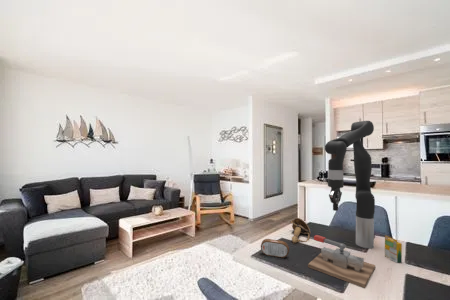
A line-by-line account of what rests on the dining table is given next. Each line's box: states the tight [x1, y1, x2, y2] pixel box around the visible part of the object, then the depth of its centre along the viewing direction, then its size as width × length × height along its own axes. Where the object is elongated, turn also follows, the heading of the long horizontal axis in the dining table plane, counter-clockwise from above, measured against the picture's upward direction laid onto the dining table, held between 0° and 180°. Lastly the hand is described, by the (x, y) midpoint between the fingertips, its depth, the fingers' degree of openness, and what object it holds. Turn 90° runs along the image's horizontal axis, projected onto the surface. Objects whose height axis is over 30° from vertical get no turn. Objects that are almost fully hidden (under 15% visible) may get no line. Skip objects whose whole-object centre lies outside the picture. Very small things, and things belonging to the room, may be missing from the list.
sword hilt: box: [290, 217, 312, 245], centre depth 147 cm, size 10×24×15 cm
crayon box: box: [384, 235, 403, 264], centre depth 117 cm, size 7×3×12 cm, turn 11°
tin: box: [260, 238, 290, 259], centre depth 121 cm, size 15×3×8 cm, turn 71°
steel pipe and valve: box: [320, 246, 365, 272], centre depth 109 cm, size 6×18×6 cm, turn 47°
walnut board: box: [307, 252, 376, 289], centre depth 109 cm, size 22×24×2 cm
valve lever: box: [313, 234, 346, 252], centre depth 113 cm, size 15×3×4 cm, turn 40°
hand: (335, 210), depth 120 cm, fingers closed
